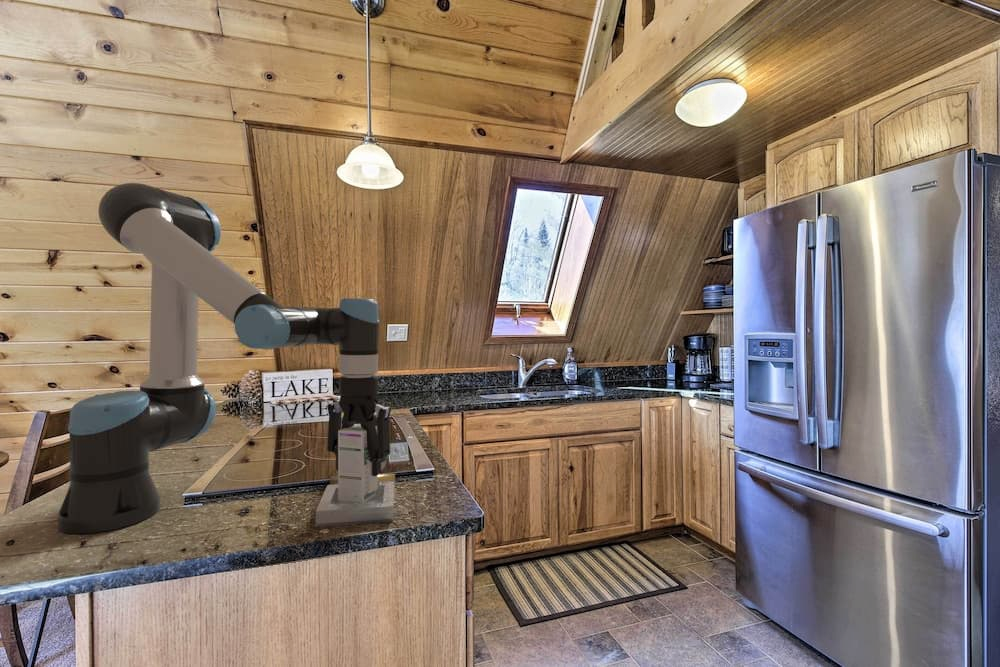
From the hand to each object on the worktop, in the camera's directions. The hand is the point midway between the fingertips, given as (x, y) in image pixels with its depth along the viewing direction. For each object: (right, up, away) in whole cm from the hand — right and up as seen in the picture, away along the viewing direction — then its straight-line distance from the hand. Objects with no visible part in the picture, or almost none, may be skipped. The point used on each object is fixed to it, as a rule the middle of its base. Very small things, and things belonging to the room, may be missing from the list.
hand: (358, 488), depth 96 cm
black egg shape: (-5, -4, +23) cm, 23 cm away
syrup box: (0, -2, 0) cm, 2 cm away
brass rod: (-2, -4, +12) cm, 13 cm away
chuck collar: (0, -4, 0) cm, 4 cm away
